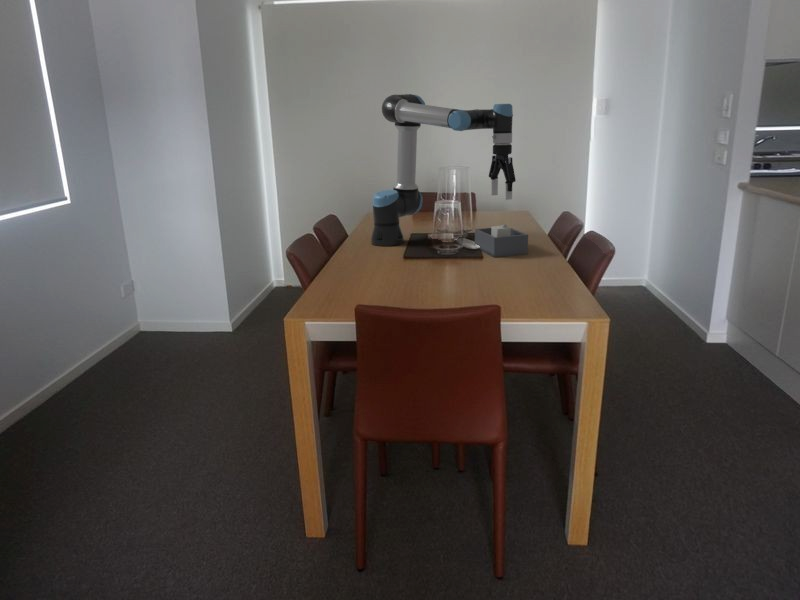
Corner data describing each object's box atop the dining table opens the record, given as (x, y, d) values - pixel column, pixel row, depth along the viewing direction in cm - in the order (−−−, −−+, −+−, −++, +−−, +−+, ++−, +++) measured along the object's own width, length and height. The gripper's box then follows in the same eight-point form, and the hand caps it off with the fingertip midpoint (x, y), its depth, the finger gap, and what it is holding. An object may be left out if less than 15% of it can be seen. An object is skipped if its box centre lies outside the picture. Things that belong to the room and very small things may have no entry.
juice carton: (491, 247, 255) (491, 224, 252) (504, 246, 256) (504, 223, 253) (497, 250, 249) (497, 226, 246) (510, 249, 251) (510, 225, 248)
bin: (474, 247, 260) (474, 229, 258) (506, 244, 264) (506, 226, 262) (494, 257, 242) (494, 237, 240) (527, 253, 246) (528, 234, 243)
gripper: (481, 143, 250) (480, 194, 257) (507, 146, 227) (506, 202, 234) (497, 142, 252) (496, 192, 259) (525, 145, 229) (523, 200, 236)
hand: (501, 197), depth 246 cm, fingers open, 13 cm apart
